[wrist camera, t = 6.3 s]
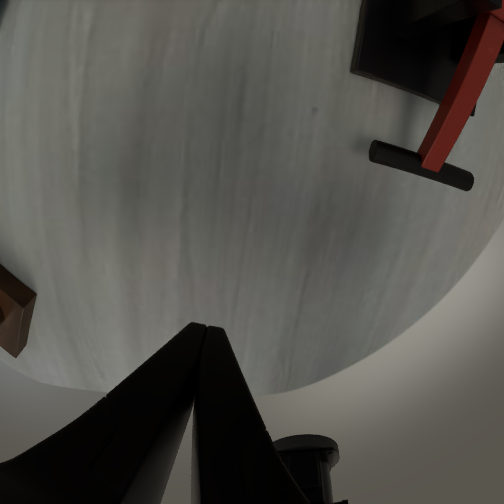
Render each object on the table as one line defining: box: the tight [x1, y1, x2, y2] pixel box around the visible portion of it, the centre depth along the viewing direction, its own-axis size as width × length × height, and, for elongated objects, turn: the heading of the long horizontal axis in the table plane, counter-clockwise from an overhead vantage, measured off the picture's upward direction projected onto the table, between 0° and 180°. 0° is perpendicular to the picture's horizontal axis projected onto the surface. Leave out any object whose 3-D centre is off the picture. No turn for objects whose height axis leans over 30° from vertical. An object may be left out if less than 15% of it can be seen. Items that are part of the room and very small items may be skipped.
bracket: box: [350, 0, 504, 116], centre depth 9 cm, size 10×8×10 cm
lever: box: [369, 0, 504, 191], centre depth 10 cm, size 12×6×2 cm, turn 171°
